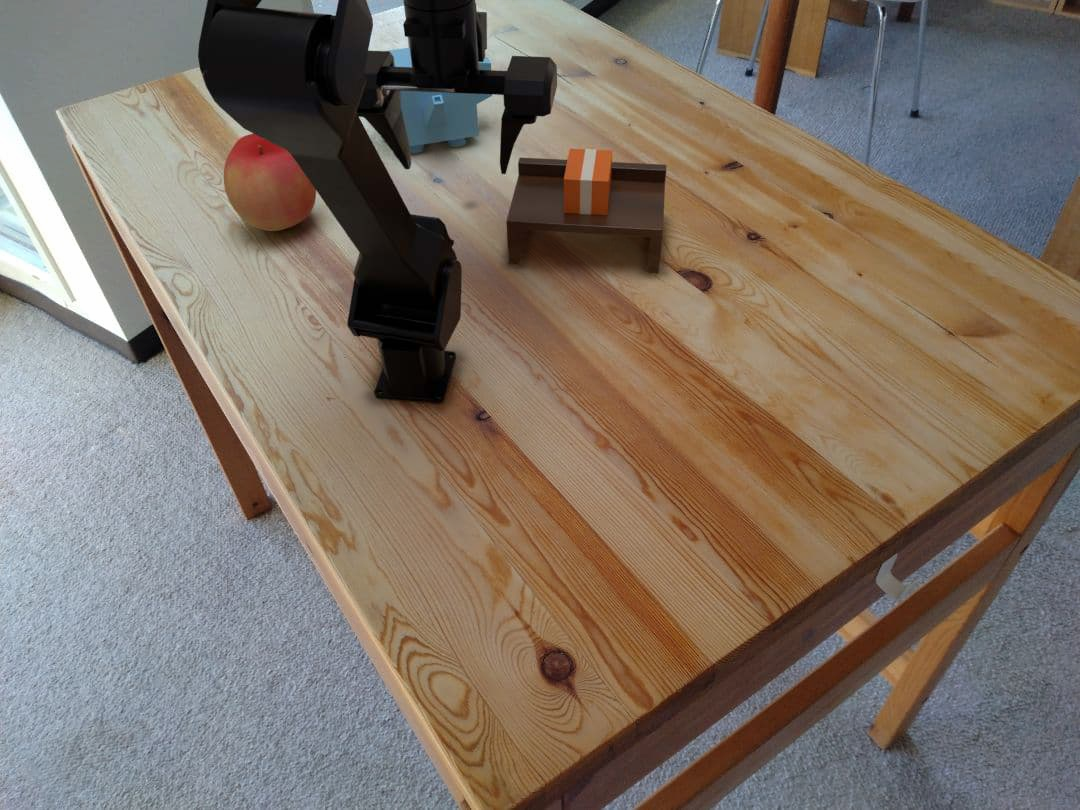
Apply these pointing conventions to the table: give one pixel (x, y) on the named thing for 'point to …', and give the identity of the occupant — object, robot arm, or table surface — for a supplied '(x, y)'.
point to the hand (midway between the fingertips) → (456, 169)
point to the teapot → (438, 111)
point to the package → (587, 181)
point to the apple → (267, 185)
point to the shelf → (628, 214)
